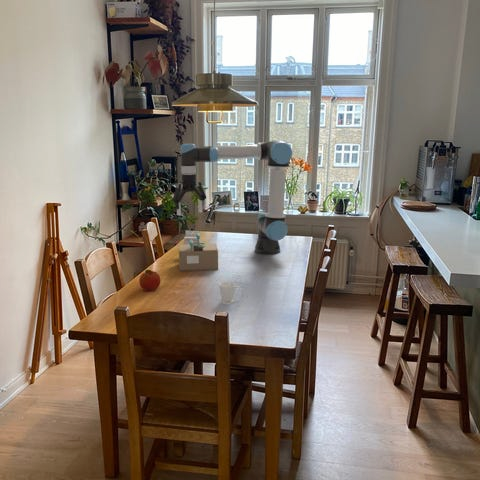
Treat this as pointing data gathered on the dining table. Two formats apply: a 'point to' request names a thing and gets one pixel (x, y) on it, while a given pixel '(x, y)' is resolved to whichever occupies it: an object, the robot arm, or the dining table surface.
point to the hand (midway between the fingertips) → (189, 213)
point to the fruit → (149, 280)
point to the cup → (228, 292)
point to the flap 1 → (187, 247)
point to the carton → (198, 260)
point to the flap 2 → (206, 245)
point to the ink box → (191, 237)
